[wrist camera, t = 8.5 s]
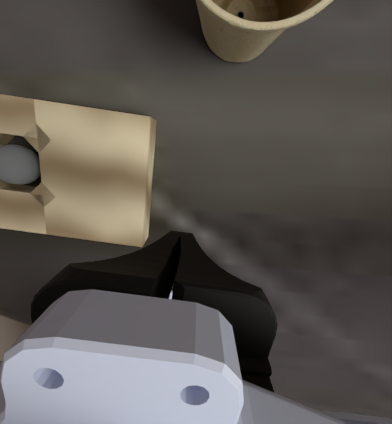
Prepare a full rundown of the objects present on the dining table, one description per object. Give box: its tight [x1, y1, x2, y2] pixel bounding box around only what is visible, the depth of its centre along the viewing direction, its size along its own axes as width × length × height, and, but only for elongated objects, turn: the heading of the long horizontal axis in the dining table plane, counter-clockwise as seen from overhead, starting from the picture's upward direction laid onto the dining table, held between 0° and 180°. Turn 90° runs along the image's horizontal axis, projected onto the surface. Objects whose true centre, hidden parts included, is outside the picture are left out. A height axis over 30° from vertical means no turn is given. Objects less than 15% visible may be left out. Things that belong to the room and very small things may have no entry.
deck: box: [0, 94, 157, 247], centre depth 19 cm, size 12×17×2 cm
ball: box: [0, 144, 41, 185], centre depth 18 cm, size 4×4×4 cm
